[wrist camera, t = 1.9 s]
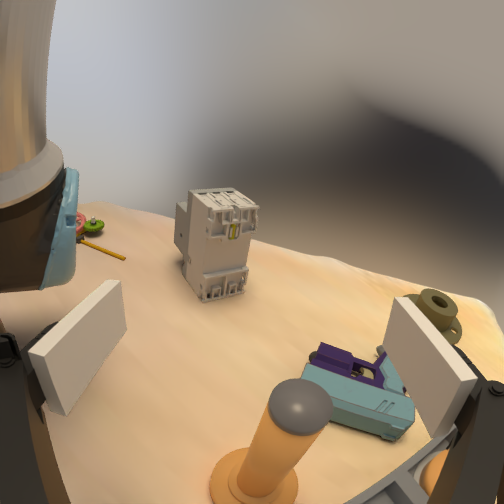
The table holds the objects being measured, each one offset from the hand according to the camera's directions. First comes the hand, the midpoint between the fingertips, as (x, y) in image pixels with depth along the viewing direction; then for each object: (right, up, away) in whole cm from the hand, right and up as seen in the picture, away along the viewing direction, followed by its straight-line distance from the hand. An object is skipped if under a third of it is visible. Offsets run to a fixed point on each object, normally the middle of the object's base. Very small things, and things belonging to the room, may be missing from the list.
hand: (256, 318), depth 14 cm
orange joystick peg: (0, -19, +9) cm, 22 cm away
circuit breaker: (-8, -1, +40) cm, 41 cm away
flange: (+34, -10, +38) cm, 52 cm away
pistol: (+13, -15, +23) cm, 31 cm away
